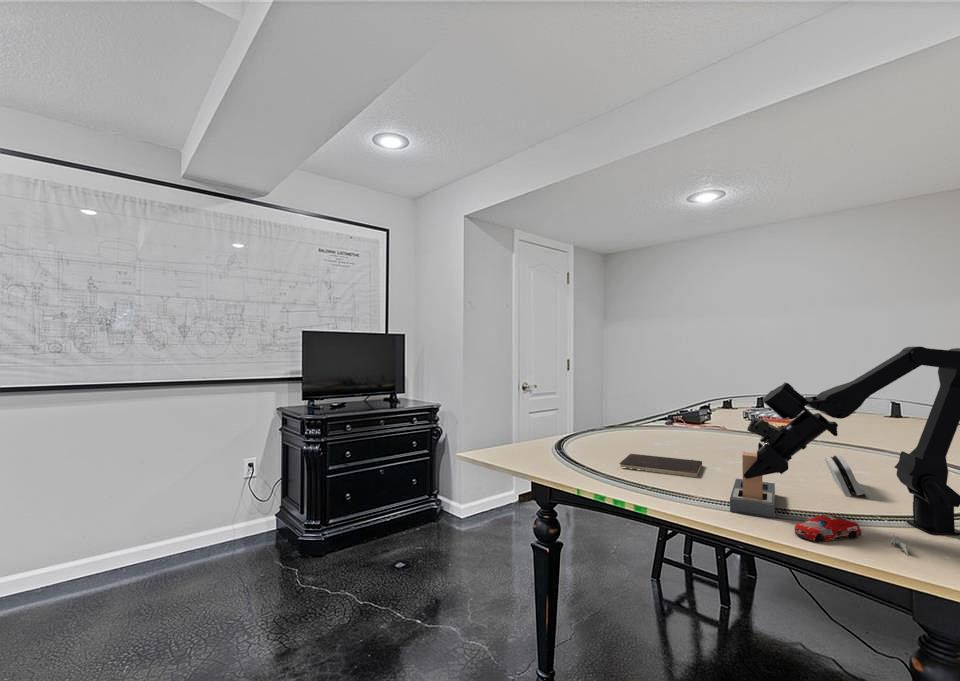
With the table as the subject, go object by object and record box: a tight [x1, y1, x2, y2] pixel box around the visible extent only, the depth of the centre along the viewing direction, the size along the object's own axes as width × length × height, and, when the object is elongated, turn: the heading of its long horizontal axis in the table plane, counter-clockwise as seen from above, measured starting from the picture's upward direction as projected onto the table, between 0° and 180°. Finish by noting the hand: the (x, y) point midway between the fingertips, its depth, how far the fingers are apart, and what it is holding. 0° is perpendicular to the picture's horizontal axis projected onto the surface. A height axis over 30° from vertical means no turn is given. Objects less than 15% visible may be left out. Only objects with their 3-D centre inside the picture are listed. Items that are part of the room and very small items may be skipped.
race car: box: [794, 514, 862, 543], centre depth 96 cm, size 13×5×4 cm, turn 98°
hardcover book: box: [619, 453, 703, 478], centre depth 152 cm, size 16×23×2 cm
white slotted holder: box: [824, 454, 871, 500], centre depth 128 cm, size 17×5×10 cm, turn 151°
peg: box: [741, 451, 763, 500], centre depth 113 cm, size 4×4×13 cm
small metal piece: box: [890, 534, 911, 556], centre depth 89 cm, size 6×2×3 cm, turn 160°
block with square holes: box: [729, 478, 776, 519], centre depth 117 cm, size 20×9×3 cm, turn 147°
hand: (745, 474), depth 114 cm, fingers open, 6 cm apart
